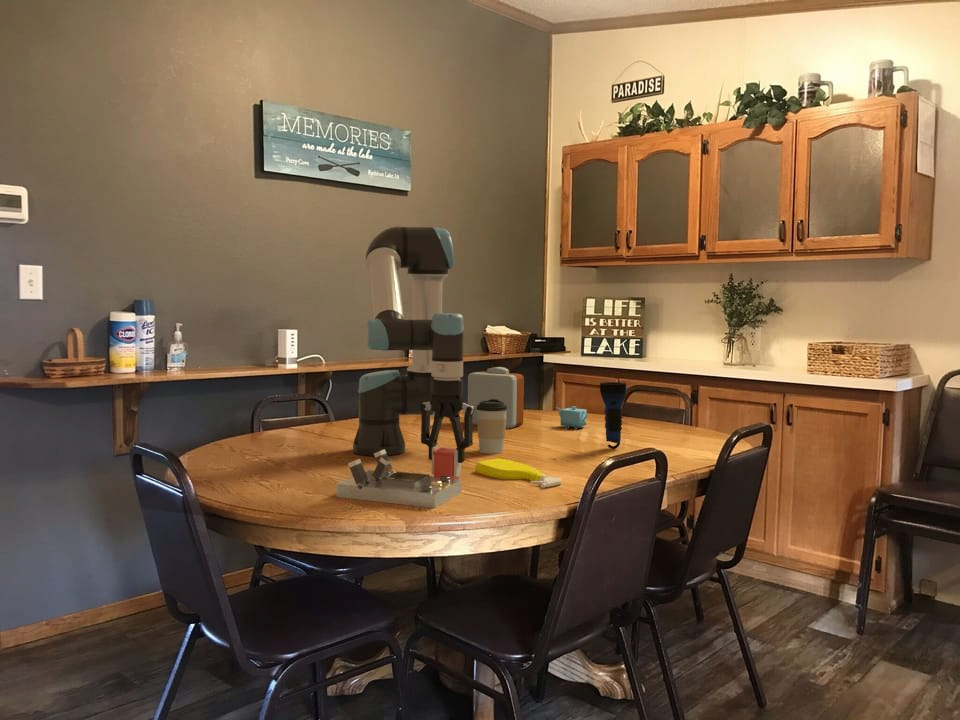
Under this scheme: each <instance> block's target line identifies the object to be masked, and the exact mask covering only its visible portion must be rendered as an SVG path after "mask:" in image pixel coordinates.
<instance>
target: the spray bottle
mask: <svg viewBox="0 0 960 720" xmlns="http://www.w3.org/2000/svg"><path fill="white" fill-rule="evenodd" d="M474 469H475V472H476V473H477V474H480V475H483V476H487V477H489V478H494V479H498V480H499V479H500V480H526V481H530V483H531V484H536V485H540V487H541V488H542V489H543V488H551V487H554V486H559V485H561V484H562V477H551V476H549V475H547V474H545V473H543V472H541V471H540V470H537V469H536V468H535V467H533V466H531V465H527V464H524V463H521V462H518V461H512V460H510V459H509V460H508V459H505V458H498V457H497V458H494V459H493V458H492V459H488V460H487V459H486V460H481V461H478V462H477V463H476V465H475V468H474Z"/></svg>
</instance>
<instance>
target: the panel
mask: <svg viewBox="0 0 960 720" xmlns="http://www.w3.org/2000/svg"><path fill="white" fill-rule="evenodd" d="M374 471H375V470H367V471H365V473H366V475H367V478H368V480H366V481H363V482H361V483H359V484H356V482H355V480H354V477H353V476H352V477H350V478H347V479H344V480H342V481H340V482H338V483H336V485H335V487H336V498H342V499H350V500H360V501H369V502H377V503H378V502H379V503H385V504H386V503H387V504H396V505H404V506H415V507H421V508H422V507H423V508H424V507H425V508H430V509H431V508H432V509H436V508H437V507H439V506H441V505H442V504H444V503H446V502H447V501H449V500H450V499H453V498H454V497H455V496H457V495H459V494H461V492H462V478H458V479H453V478H450V476H440V477H434V475H433V476H432V475H431V476H430V474H427V473H426V474H424V473H415V472H414V473H413V472H404V471H396V472H394V470H393V469H391V470H389V471H386V473H385V475H384V477H383V478H381V479H379V480H378V479H376V478H375V477H373V476H372V475H373V473H374Z"/></svg>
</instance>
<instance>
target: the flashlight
mask: <svg viewBox="0 0 960 720" xmlns="http://www.w3.org/2000/svg"><path fill="white" fill-rule="evenodd" d="M599 392H600V396H601V399H602V402H603V404H604V405H605V407H604V414H605V416H604V421H605V423H604V428H605V439H606V440H605V441H606V442H609V443H614V444H615V445H611V444H609V443H608V444H607V448H608V449H611V450H615V449H617V448H619V447H620V445H621V441H622V440H621V438H622V436H621V435H622V430H623V427H622V426H623V420H622V419H623V409H622V405H623V403H624V401H625V398H626V396H627V382H622V381H609V382H608V381H604V382H599Z"/></svg>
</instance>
